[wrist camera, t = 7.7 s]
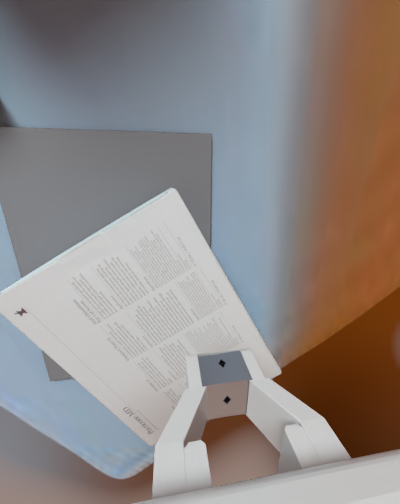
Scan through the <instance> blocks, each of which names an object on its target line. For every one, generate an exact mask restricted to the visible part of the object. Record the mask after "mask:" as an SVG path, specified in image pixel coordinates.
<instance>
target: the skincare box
mask: <svg viewBox="0 0 400 504" xmlns="http://www.w3.org/2000/svg"><path fill="white" fill-rule="evenodd" d="M0 313H1V314H2V315H3V316H4V317H5V318H7V319H8V320H9V321H10V322H11V323H12V324H13V325H15V326H16V327H17V328H18V329H19V330H20V331H21V332H23V333H24V334H25V335H26V336H27V337H28V338H29V339H30V340H31V341H32V342H33V343H35V344H36V345H37V346H38V347H39V348H40V349H41V350H42V351H44V352H45V353H46V354H47V355H48V356H49V357H50V358H51V359H53V360H54V361H55V362H56V363H57V364H58V365H59V366H61V367H62V368H63V369H64V370H65V371H66V372H67V373H68V374H70V375H71V376H72V377H73V378H74V379H75V380H76V381H77V382H78V383H80V384H81V385H82V386H83V387H84V388H85V389H86V390H88V391H89V392H90V393H91V394H92V395H93V396H94V397H95V398H96V399H98V400H99V401H100V402H101V403H102V404H103V405H104V406H105V407H107V408H108V409H109V410H110V411H111V412H112V413H113V414H115V415H116V416H117V417H118V418H119V419H120V420H121V421H122V422H124V423H125V424H126V425H127V426H128V427H129V428H130V429H131V430H133V431H134V432H135V433H136V434H137V435H138V436H139V437H141V438H142V439H143V440H144V441H145V442H146V443H147V444H148V445H150V446H154V445H155V444H157V442H158V440H159V438H160V436H161V434H162V432H163V430H164V429H165V427H166V425H167V423H168V421H169V419H170V417H171V415H172V414H173V412H174V410H175V408H176V406H177V404H178V402H179V400H180V399H181V397H182V395H183V393H184V391H185V389H187V384H186V355H197V354H205V353H217V352H224V351H232V350H239V349H247V348H249V349H251V351H252V353H253V355H254V357H255V359H256V361H257V363H258V365H259V367H260V369H261V370H262V372H263V374H264V376H265V378H270V379H272V378H274V377H275V376H278V375H280V374H281V369H280V367H279V366H278V364H277V362H276V361H275V359H274V357H273V356H272V354H271V352H270V350H269V349H268V347H267V345H266V344H265V342H264V340H263V338H262V337H261V335H260V333H259V331H258V329H257V328H256V326H255V324H254V323H253V321H252V319H251V318H250V316H249V314H248V312H247V311H246V309H245V307H244V305H243V304H242V302H241V300H240V299H239V297H238V295H237V293H236V292H235V290H234V288H233V287H232V285H231V283H230V281H229V280H228V278H227V276H226V275H225V273H224V271H223V269H222V268H221V266H220V264H219V263H218V261H217V259H216V257H215V256H214V254H213V252H212V250H211V249H210V247H209V245H208V244H207V242H206V240H205V238H204V237H203V235H202V233H201V231H200V230H199V228H198V226H197V224H196V223H195V221H194V219H193V217H192V216H191V214H190V212H189V210H188V209H187V207H186V205H185V204H184V202H183V200H182V198H181V197H180V195H179V193H178V191H177V190H176V189H174V188H169V189H168V190H166V191H164V192H163V193H161V194H159V195H157V196H156V197H154V198H152V199H151V200H149V201H147V202H146V203H144V204H142V205H141V206H139V207H137V208H136V209H134V210H132V211H131V212H129V213H127V214H126V215H124V216H122V217H121V218H119V219H117V220H116V221H114V222H112V223H111V224H109V225H107V226H106V227H104V228H102V229H101V230H99V231H97V232H96V233H94V234H92V235H91V236H89V237H87V238H86V239H84V240H83V241H81V242H79V243H78V244H76V245H74V246H73V247H71V248H69V249H68V250H66V251H65V252H63V253H61V254H60V255H58V256H56V257H55V258H53V259H52V260H50V261H48V262H47V263H45V264H44V265H42V266H40V267H39V268H37V269H36V270H34V271H32V272H31V273H29V274H28V275H26V276H25V277H23V278H21V279H20V280H18V281H17V282H15V283H14V284H12V285H11V286H9V287H8V288H6V289H4V290H3V291H1V292H0Z"/></svg>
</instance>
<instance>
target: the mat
mask: <svg viewBox="0 0 400 504" xmlns="http://www.w3.org/2000/svg"><path fill="white" fill-rule="evenodd" d="M211 147H212V134H196V133H167V132H138V131H109V130H80V129H52V128H23V127H0V203H1V206H2V210H3V213H4V217H5V221H6V224H7V228H8V231H9V235H10V238H11V242H12V246H13V249H14V253H15V256H16V260H17V264H18V267H19V271H20V274H21V278H23V277H25V276H26V275H28V274H29V273H31V272H32V271H34V270H36V269H37V268H39V267H40V266H42V265H44V264H45V263H47V262H48V261H50V260H52V259H53V258H55V257H56V256H58V255H60V254H61V253H63V252H65V251H66V250H68V249H69V248H71V247H73V246H74V245H76V244H78V243H79V242H81V241H83V240H84V239H86V238H87V237H89V236H91V235H92V234H94V233H96V232H97V231H99V230H101V229H102V228H104V227H106V226H107V225H109V224H111V223H112V222H114V221H116V220H117V219H119V218H121V217H122V216H124V215H126V214H127V213H129V212H131V211H132V210H134V209H136V208H137V207H139V206H141V205H142V204H144V203H146V202H147V201H149V200H151V199H152V198H154V197H156V196H157V195H159V194H161V193H163V192H164V191H166V190H168V189H169V188H174V189H176V190H177V191H178V193H179V195H180V197H181V198H182V200H183V202H184V204H185V205H186V207H187V209H188V210H189V212H190V214H191V216H192V217H193V219H194V221H195V223H196V224H197V226H198V228H199V230H200V231H201V233H202V235H203V237H204V238H205V240H206V242H207V244H208V245H209V247H210V235H211ZM42 353H43V357H44V361H45V364H46V368H47V371H48V375H49V379H50V381H53V380H61V379H69V378H73V377H72V376H71V375H70V374H68V373H67V372H66V371H65V370H64V369H63V368H62V367H61V366H59V365H58V364H57V363H56V362H55V361H54V360H53V359H51V358H50V357H49V356H48V355H47V354H46V353H45V352H44V351H42Z"/></svg>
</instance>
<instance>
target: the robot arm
mask: <svg viewBox="0 0 400 504" xmlns="http://www.w3.org/2000/svg"><path fill="white" fill-rule="evenodd" d="M186 384H187V389H185V391H184V393H183V395H182V397H181V399H180V400H179V402H178V404H177V406H176V408H175V410H174V412H173V414H172V415H171V417H170V419H169V421H168V423H167V425H166V427H165V429H164V430H163V432H162V434H161V436H160V438H159V440H158V442H157V444H156V445H155V456H154V474H153V475H154V476H153V493H152V500H148V501H143V502H138V503H133V504H400V449H397V450H392V451H387V452H383V453H378V454H373V455H368V456H363V457H358V458H353V459H351V457H350V456H349V454H348V453H347V451H346V450H345V448H344V447H343V446H342V444H341V442H340V441H339V439H338V438H337V436H336V435H335V433H334V432H333V430H332V429H331V427H330V426H329V425H328V423H327V421H326V420H325V418H324V417H322V416H321V415H319V414H318V413H317V412H315V411H314V410H313V409H311V408H309V407H308V406H307V405H306V404H304V403H303V402H301V401H300V400H299V399H297V398H296V397H295V396H293V395H292V394H290V393H289V392H288V391H286V390H285V389H283V388H282V387H281V386H279V385H278V384H277V383H275V382H274V381H272V380H271V379H270V378H265V376H264V374H263V372H262V370H261V369H260V367H259V365H258V363H257V361H256V359H255V357H254V355H253V353H252V351H251V349H249V348H247V349H239V350H232V351H224V352H217V353H205V354H197V355H186ZM240 414H246V415H247V416H248V418H249V419H250V420H251V421H252V422H253V423H254V424H255V425H256V426H257V428H258V429H259V430H260V431H261V432H262V433H263V434H264V436H265V437H266V438H267V439H268V440H269V441H270V442H271V443H272V444H273V446H274V447H275V448H276V449H277V450H278V451H279V452H280V459H279V465H278V470H277V474H275V475H270V476H265V477H260V478H255V479H250V480H245V481H240V482H235V483H231V484H226V485H221V486H216V487H212V483H211V477H210V470H209V464H208V457H207V450H206V444H205V443H204V442H202V441H201V437H202V434H203V431H204V428H205V425H206V422H207V420H210V419H215V418H220V417H225V416H233V415H240Z"/></svg>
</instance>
